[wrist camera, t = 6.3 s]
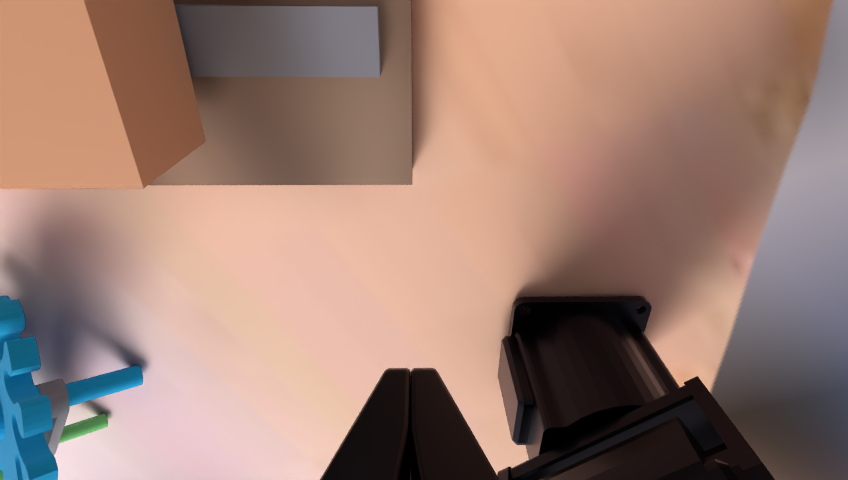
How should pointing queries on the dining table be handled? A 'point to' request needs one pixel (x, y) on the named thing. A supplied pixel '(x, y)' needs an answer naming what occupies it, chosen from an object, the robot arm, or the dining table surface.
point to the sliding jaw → (93, 94)
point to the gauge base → (298, 92)
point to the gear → (41, 402)
